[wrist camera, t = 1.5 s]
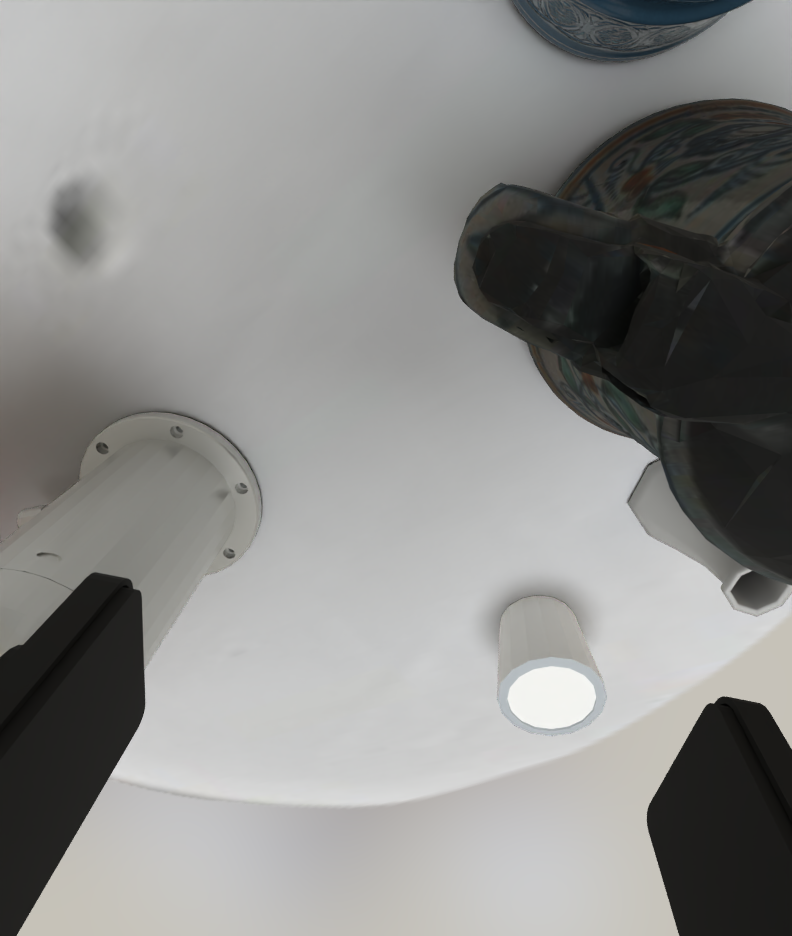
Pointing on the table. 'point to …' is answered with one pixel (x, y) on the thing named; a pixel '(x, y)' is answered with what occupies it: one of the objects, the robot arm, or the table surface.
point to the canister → (622, 24)
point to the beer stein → (665, 306)
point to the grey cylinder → (546, 669)
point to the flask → (701, 546)
